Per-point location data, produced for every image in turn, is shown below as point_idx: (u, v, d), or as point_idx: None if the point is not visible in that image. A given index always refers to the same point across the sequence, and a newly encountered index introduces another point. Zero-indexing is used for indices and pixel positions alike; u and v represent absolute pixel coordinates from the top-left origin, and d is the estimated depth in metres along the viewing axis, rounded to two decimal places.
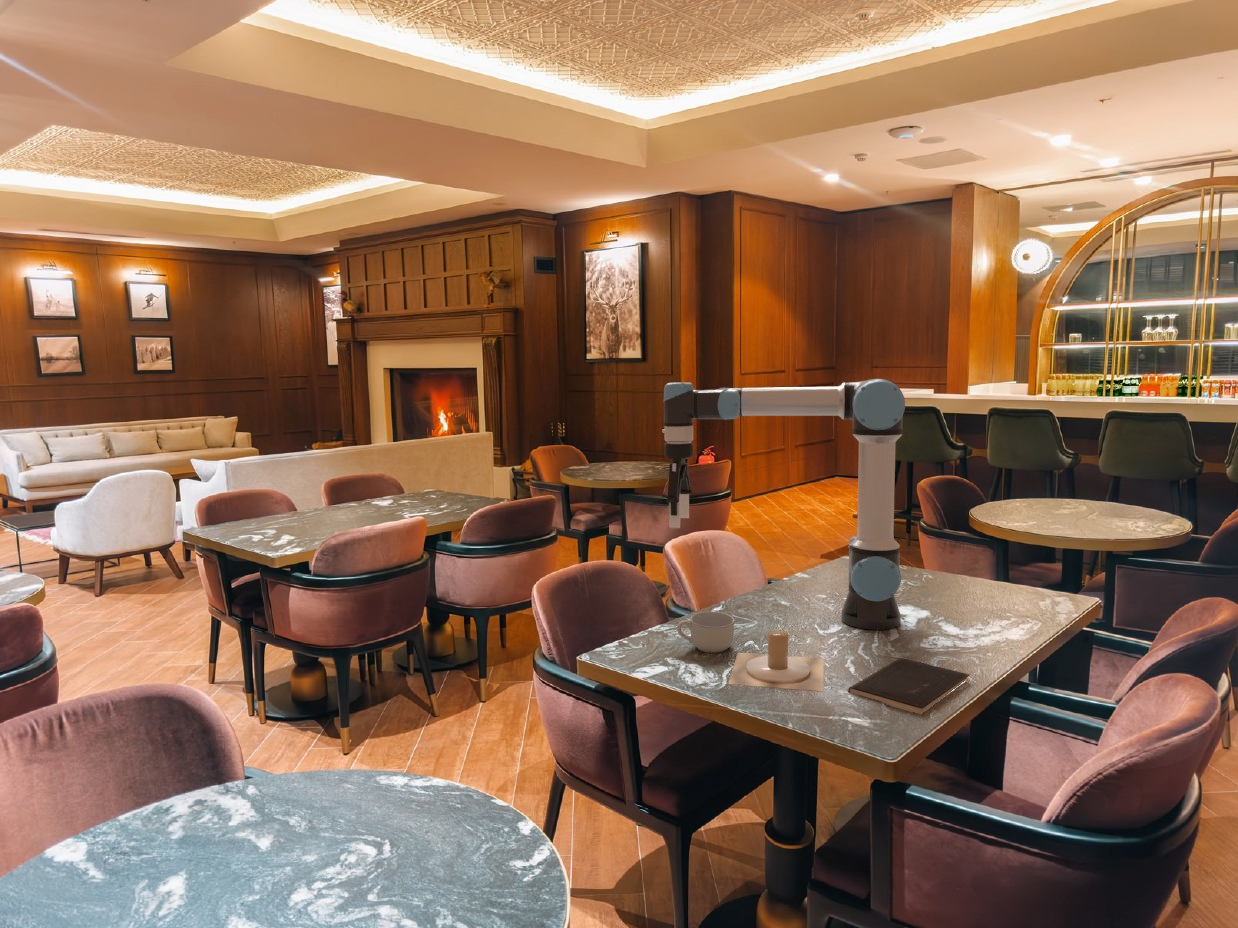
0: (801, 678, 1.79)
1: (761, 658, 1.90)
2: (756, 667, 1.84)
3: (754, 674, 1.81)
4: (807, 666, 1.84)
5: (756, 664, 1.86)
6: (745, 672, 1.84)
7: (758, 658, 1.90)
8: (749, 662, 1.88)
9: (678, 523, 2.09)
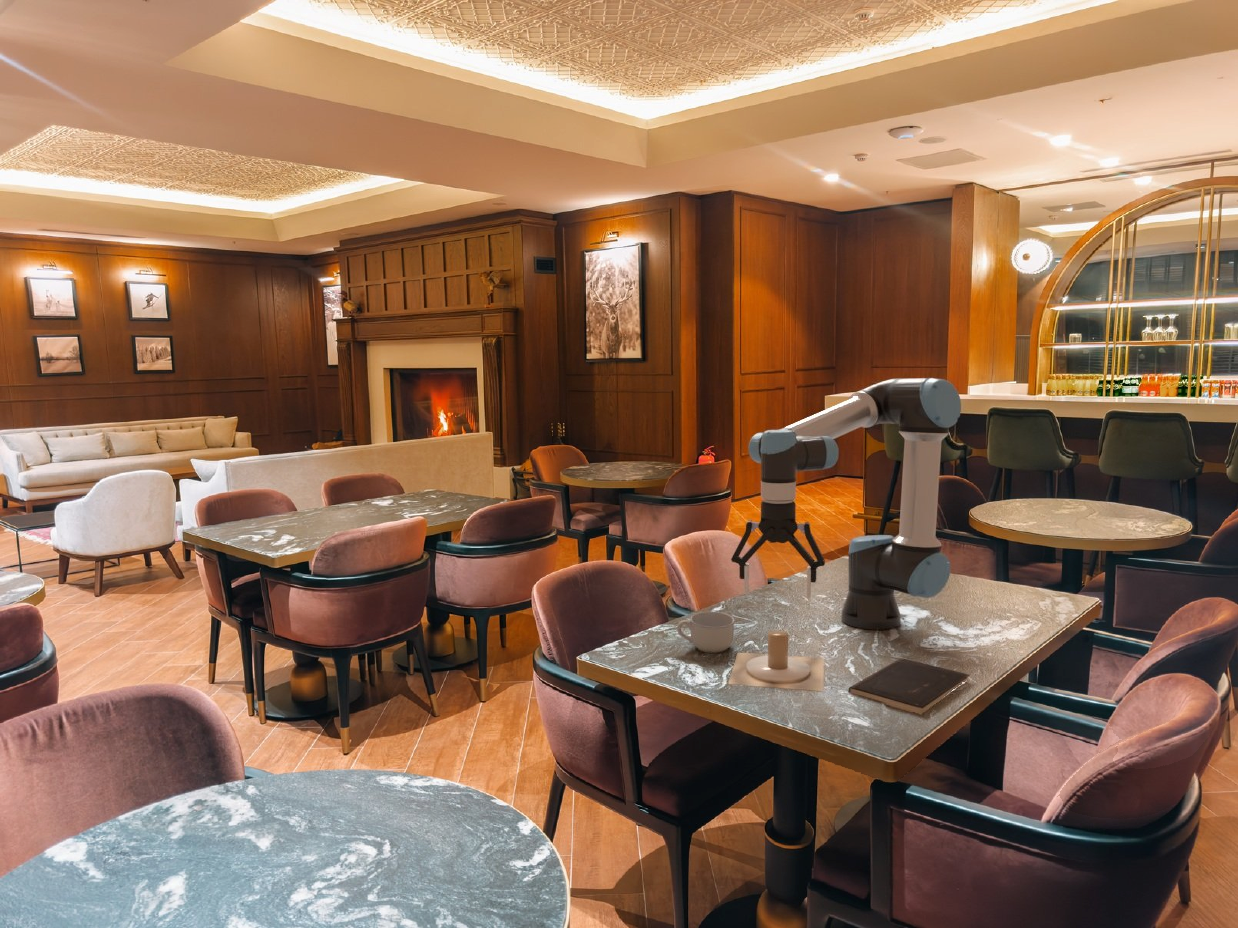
0: (801, 678, 1.79)
1: (761, 657, 1.90)
2: (756, 667, 1.84)
3: (754, 674, 1.81)
4: (807, 666, 1.84)
5: (756, 664, 1.86)
6: (745, 672, 1.84)
7: (758, 658, 1.90)
8: (749, 662, 1.87)
9: None
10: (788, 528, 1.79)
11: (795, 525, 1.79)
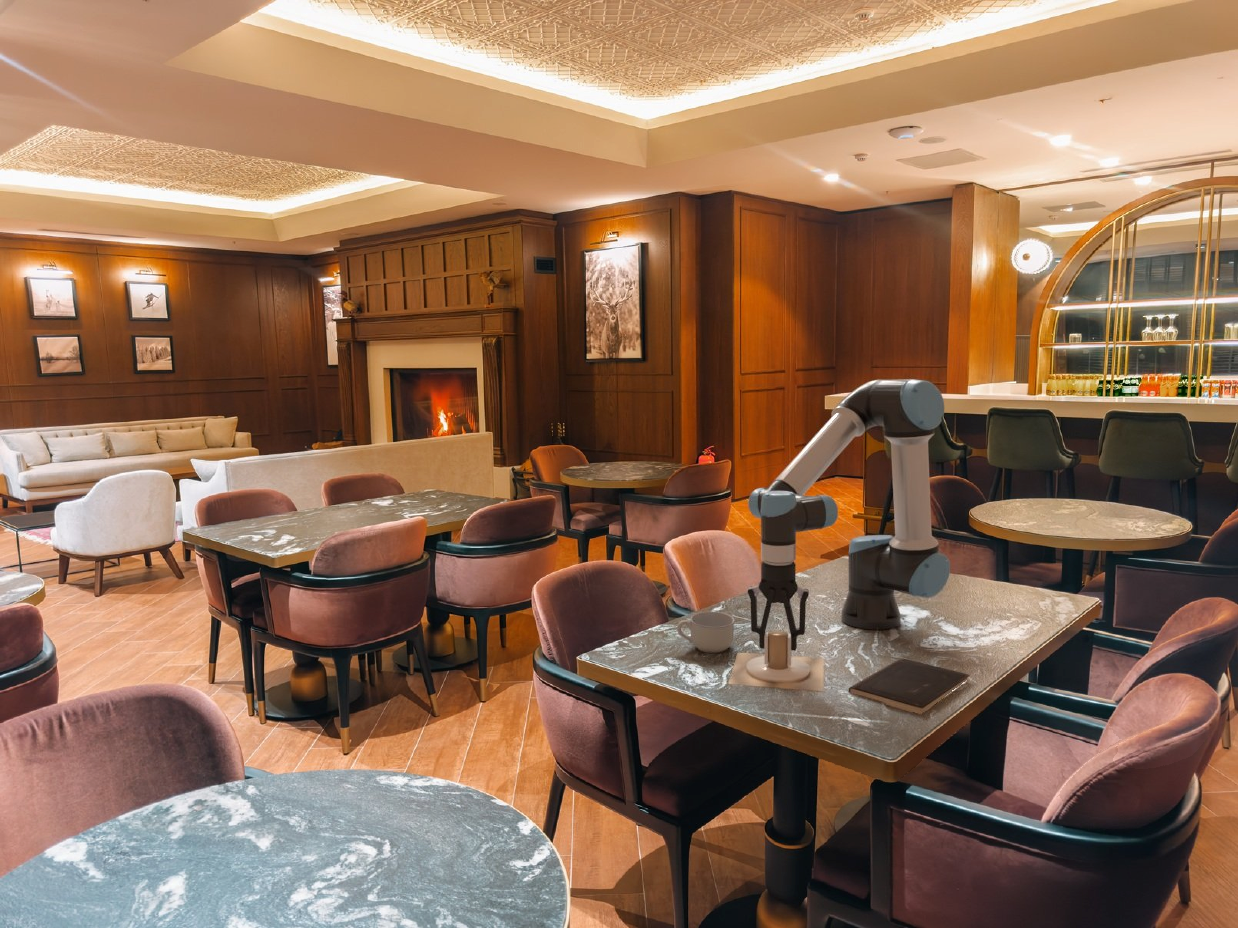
0: (801, 678, 1.79)
1: (761, 658, 1.90)
2: (756, 667, 1.84)
3: (754, 674, 1.81)
4: (807, 666, 1.84)
5: (756, 664, 1.86)
6: (745, 672, 1.84)
7: (758, 658, 1.90)
8: (749, 662, 1.88)
9: None
10: (788, 587, 1.81)
11: (796, 588, 1.81)
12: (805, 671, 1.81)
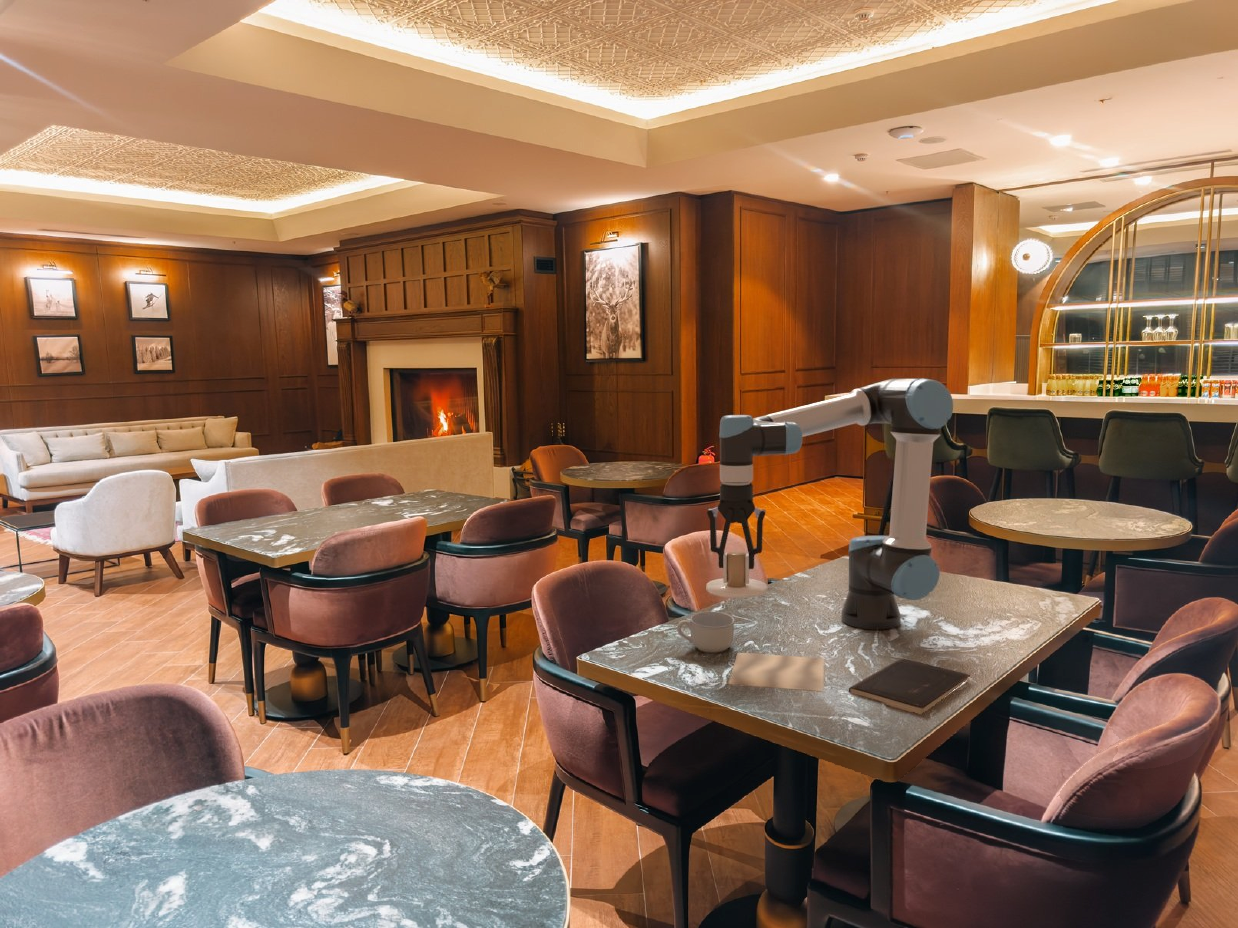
0: (759, 594, 1.86)
1: (721, 579, 1.97)
2: (715, 586, 1.90)
3: (714, 591, 1.87)
4: (764, 584, 1.91)
5: (716, 584, 1.93)
6: (745, 672, 1.84)
7: (718, 580, 1.96)
8: (709, 583, 1.94)
9: (723, 577, 1.91)
10: (746, 507, 1.88)
11: (753, 508, 1.88)
12: (762, 588, 1.88)
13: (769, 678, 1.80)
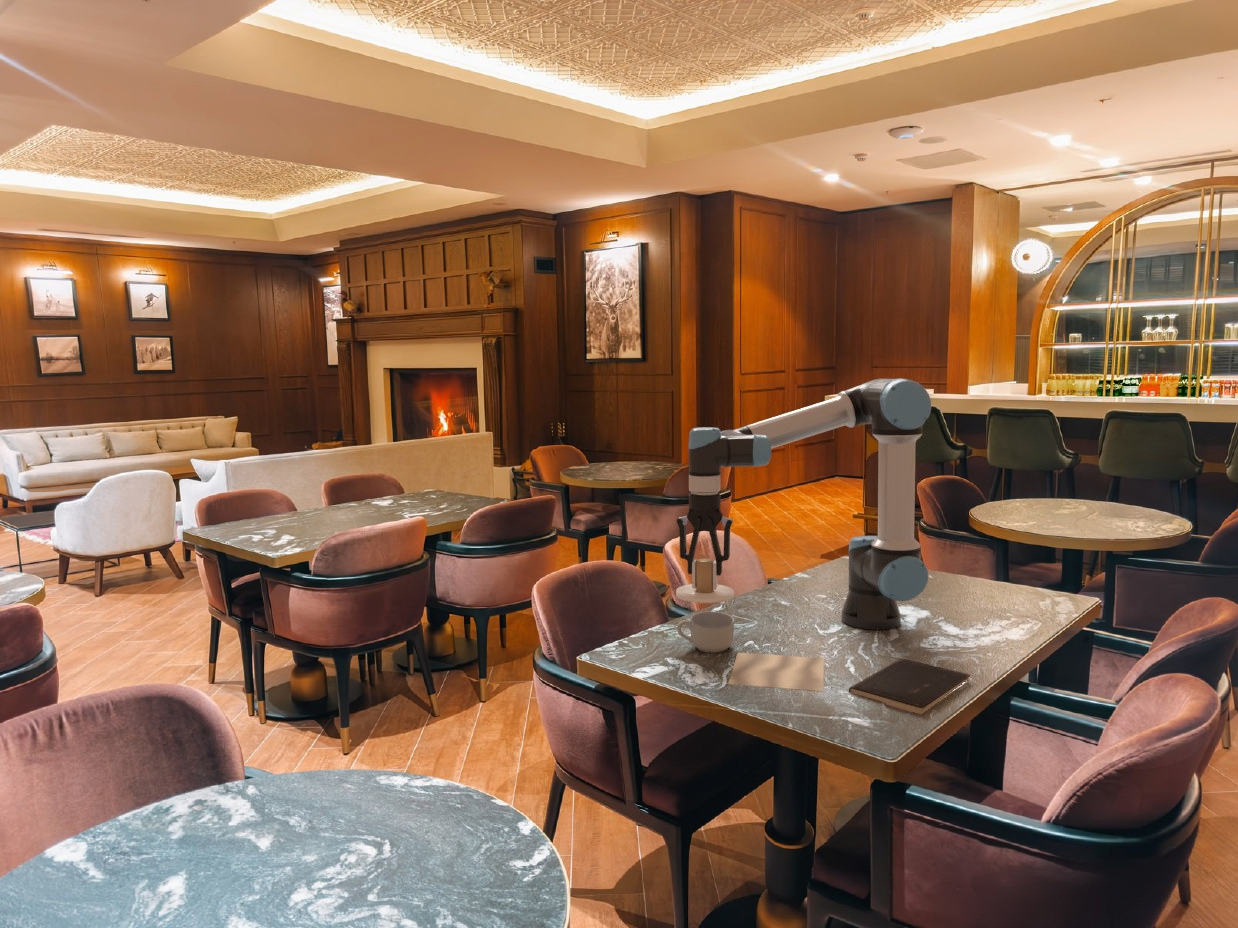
0: (724, 599, 1.94)
1: (691, 585, 2.04)
2: (684, 592, 1.98)
3: (682, 596, 1.95)
4: (732, 590, 1.99)
5: (685, 589, 2.00)
6: (745, 672, 1.84)
7: (688, 585, 2.04)
8: (679, 588, 2.02)
9: (692, 583, 1.99)
10: (713, 516, 1.95)
11: (720, 516, 1.95)
12: (729, 594, 1.96)
13: (769, 678, 1.80)
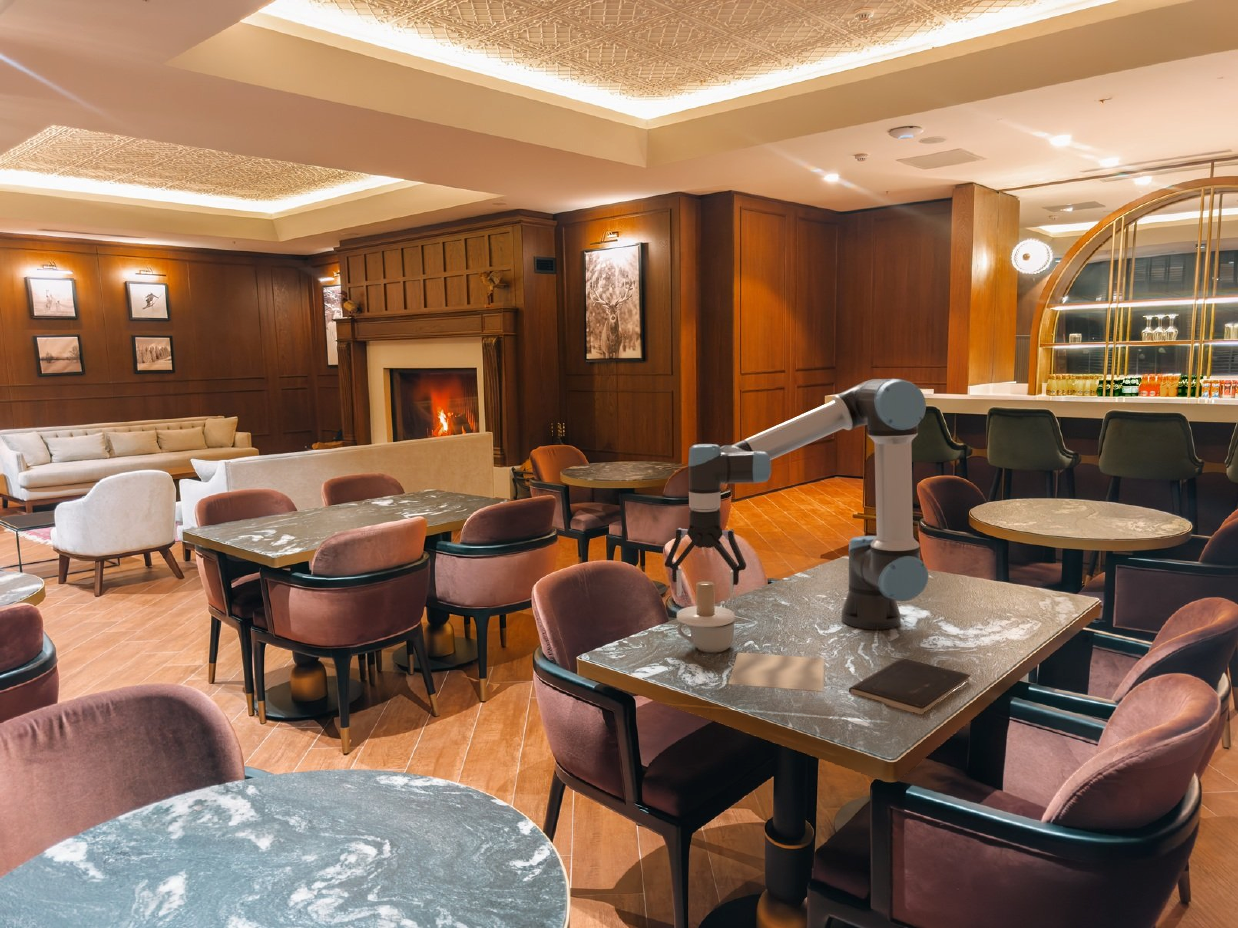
0: (725, 623, 1.94)
1: (692, 607, 2.05)
2: (685, 615, 1.99)
3: (682, 620, 1.96)
4: (732, 613, 2.00)
5: (686, 612, 2.01)
6: (745, 672, 1.84)
7: (689, 608, 2.05)
8: (680, 611, 2.03)
9: None
10: (714, 534, 1.96)
11: (720, 531, 1.96)
12: (729, 617, 1.96)
13: (769, 678, 1.80)
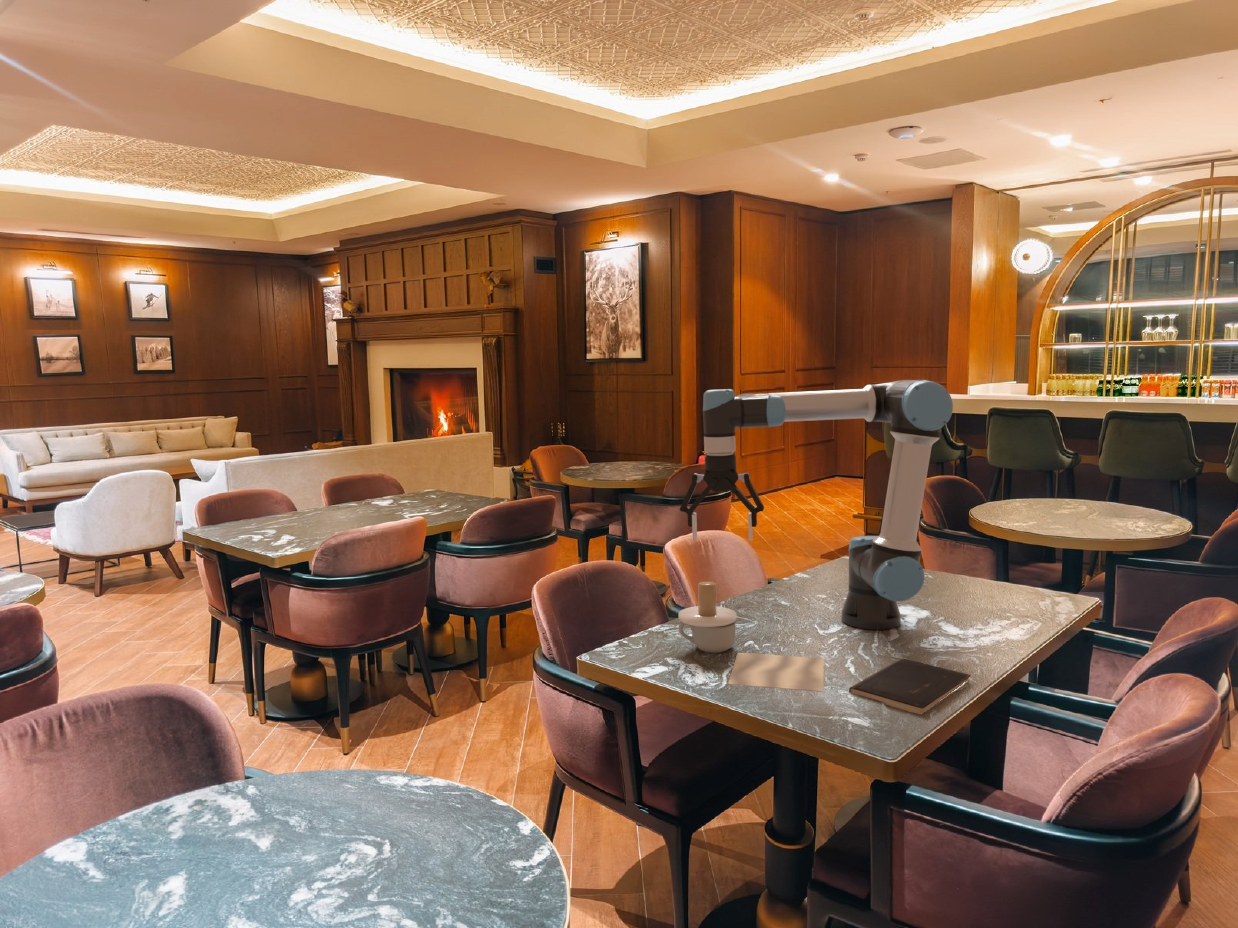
0: (727, 623, 1.94)
1: (693, 607, 2.05)
2: (687, 615, 1.99)
3: (685, 620, 1.96)
4: (734, 613, 2.00)
5: (688, 612, 2.01)
6: (745, 672, 1.84)
7: (690, 608, 2.05)
8: (681, 611, 2.02)
9: None
10: (730, 478, 1.98)
11: (736, 475, 1.97)
12: (731, 617, 1.96)
13: (769, 678, 1.80)
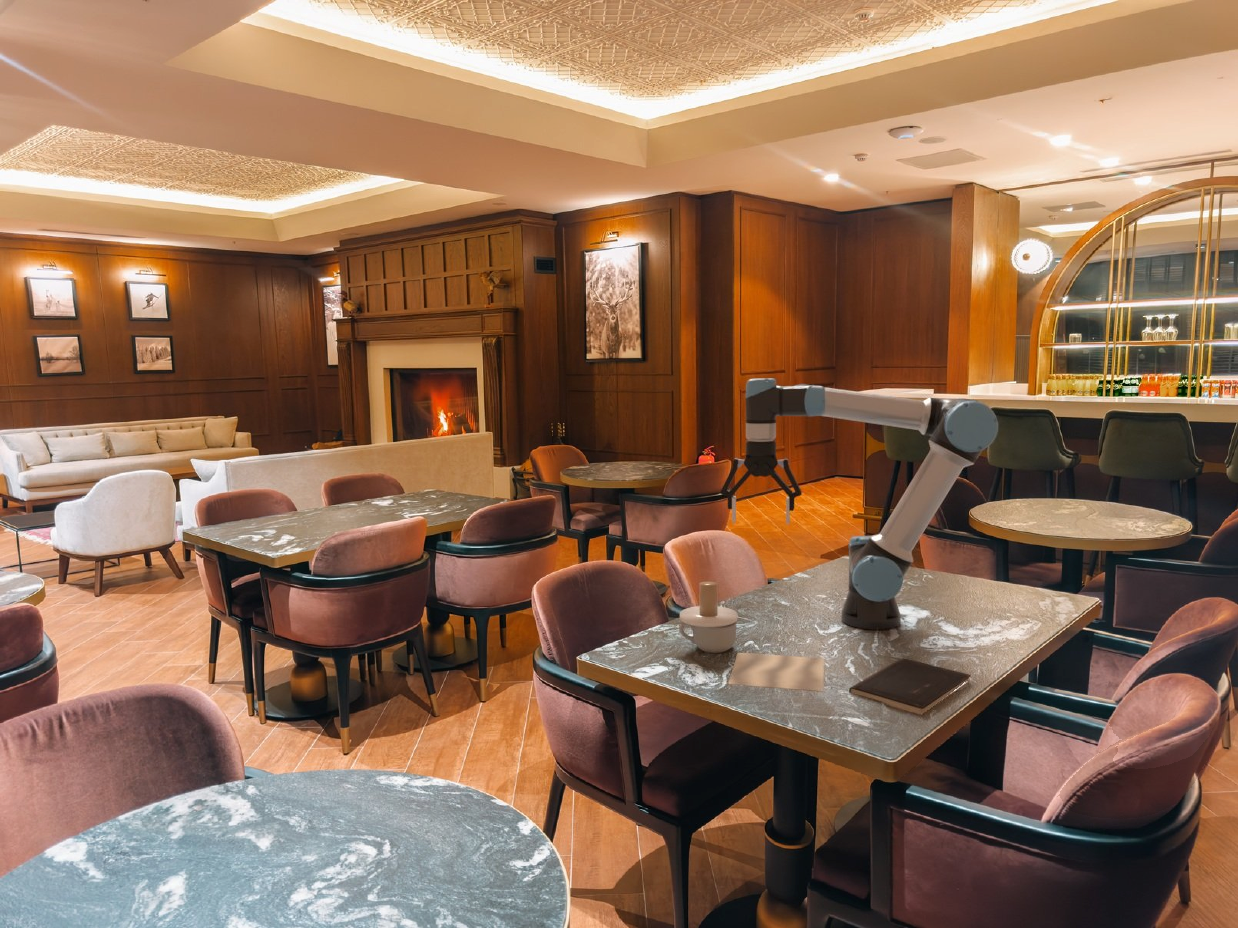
0: (729, 623, 1.94)
1: (694, 607, 2.05)
2: (688, 615, 1.99)
3: (686, 620, 1.96)
4: (735, 613, 1.99)
5: (689, 612, 2.01)
6: (745, 672, 1.84)
7: (691, 608, 2.05)
8: (683, 611, 2.02)
9: (732, 517, 2.11)
10: (769, 463, 2.07)
11: (775, 461, 2.06)
12: (733, 617, 1.96)
13: (769, 678, 1.80)
